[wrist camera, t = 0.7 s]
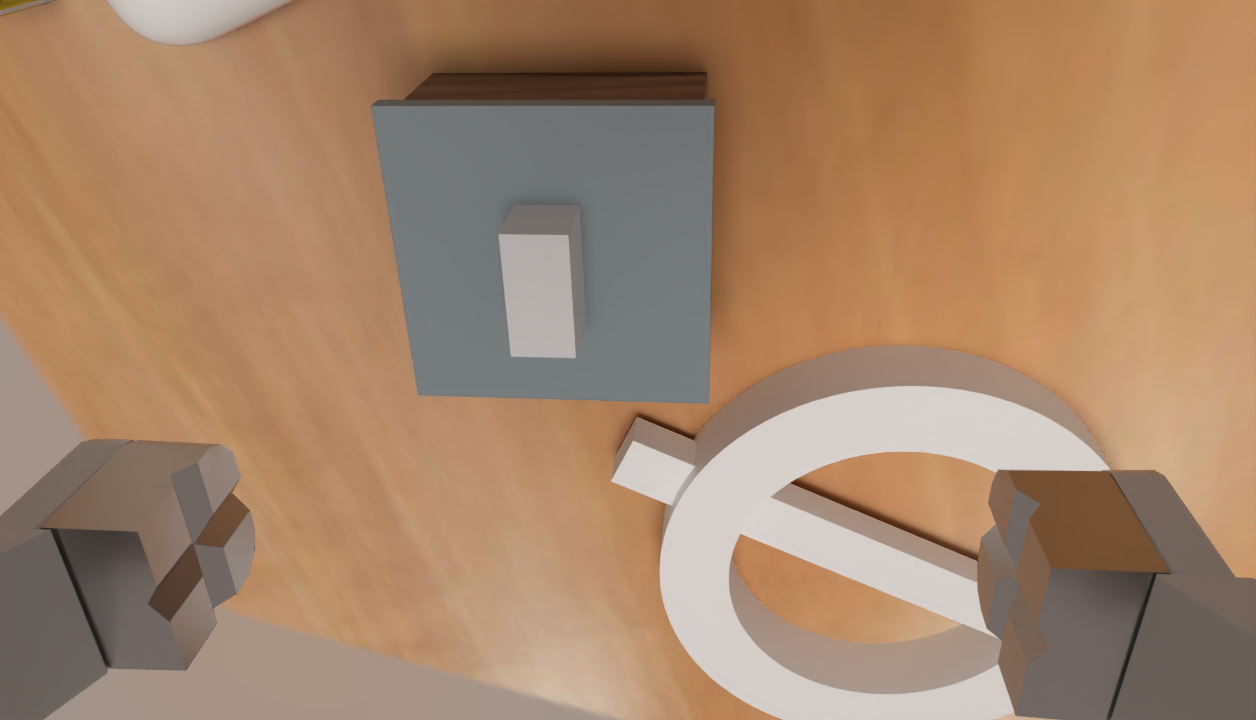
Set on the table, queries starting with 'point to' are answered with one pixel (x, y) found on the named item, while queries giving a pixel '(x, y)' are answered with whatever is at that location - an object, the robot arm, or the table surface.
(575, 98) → the walnut box
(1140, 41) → the table surface
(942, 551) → the ring with crossbar
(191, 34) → the earbud case
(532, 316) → the lid
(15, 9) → the supplement bottle
